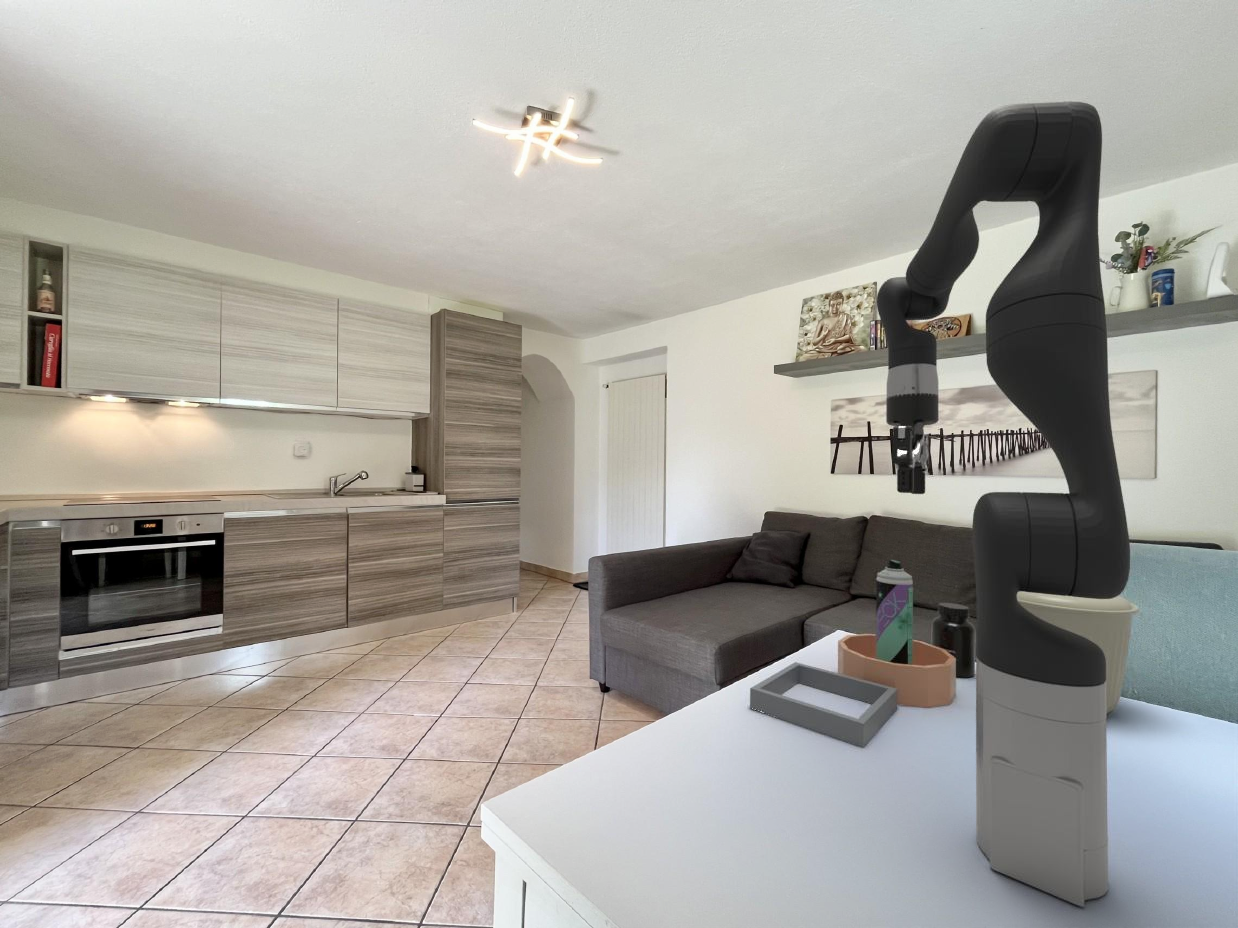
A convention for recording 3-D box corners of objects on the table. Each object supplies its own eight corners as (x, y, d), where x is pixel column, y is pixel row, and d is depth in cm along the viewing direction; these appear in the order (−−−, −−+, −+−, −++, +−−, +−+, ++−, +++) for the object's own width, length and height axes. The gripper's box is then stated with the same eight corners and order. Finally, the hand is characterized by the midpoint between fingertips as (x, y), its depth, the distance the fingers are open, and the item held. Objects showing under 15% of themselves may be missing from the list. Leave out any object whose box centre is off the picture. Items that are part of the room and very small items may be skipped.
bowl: (941, 717, 75) (941, 675, 76) (824, 684, 87) (824, 648, 87) (962, 684, 88) (962, 649, 88) (857, 660, 99) (858, 628, 100)
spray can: (880, 670, 91) (880, 557, 92) (915, 678, 88) (915, 560, 88) (872, 679, 87) (872, 560, 88) (909, 688, 83) (909, 564, 84)
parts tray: (863, 747, 66) (863, 723, 66) (750, 708, 77) (750, 688, 77) (897, 708, 78) (897, 688, 78) (795, 679, 89) (795, 661, 89)
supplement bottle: (937, 675, 92) (937, 608, 93) (926, 663, 99) (926, 599, 99) (981, 680, 90) (981, 611, 91) (967, 667, 97) (967, 603, 97)
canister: (988, 671, 95) (987, 556, 95) (1124, 696, 84) (1122, 567, 85) (991, 705, 80) (991, 569, 80) (1157, 741, 70) (1154, 584, 70)
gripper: (928, 385, 78) (928, 493, 77) (946, 400, 88) (946, 494, 87) (875, 390, 83) (874, 492, 82) (897, 404, 93) (897, 493, 92)
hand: (911, 493), depth 85 cm, fingers open, 8 cm apart
